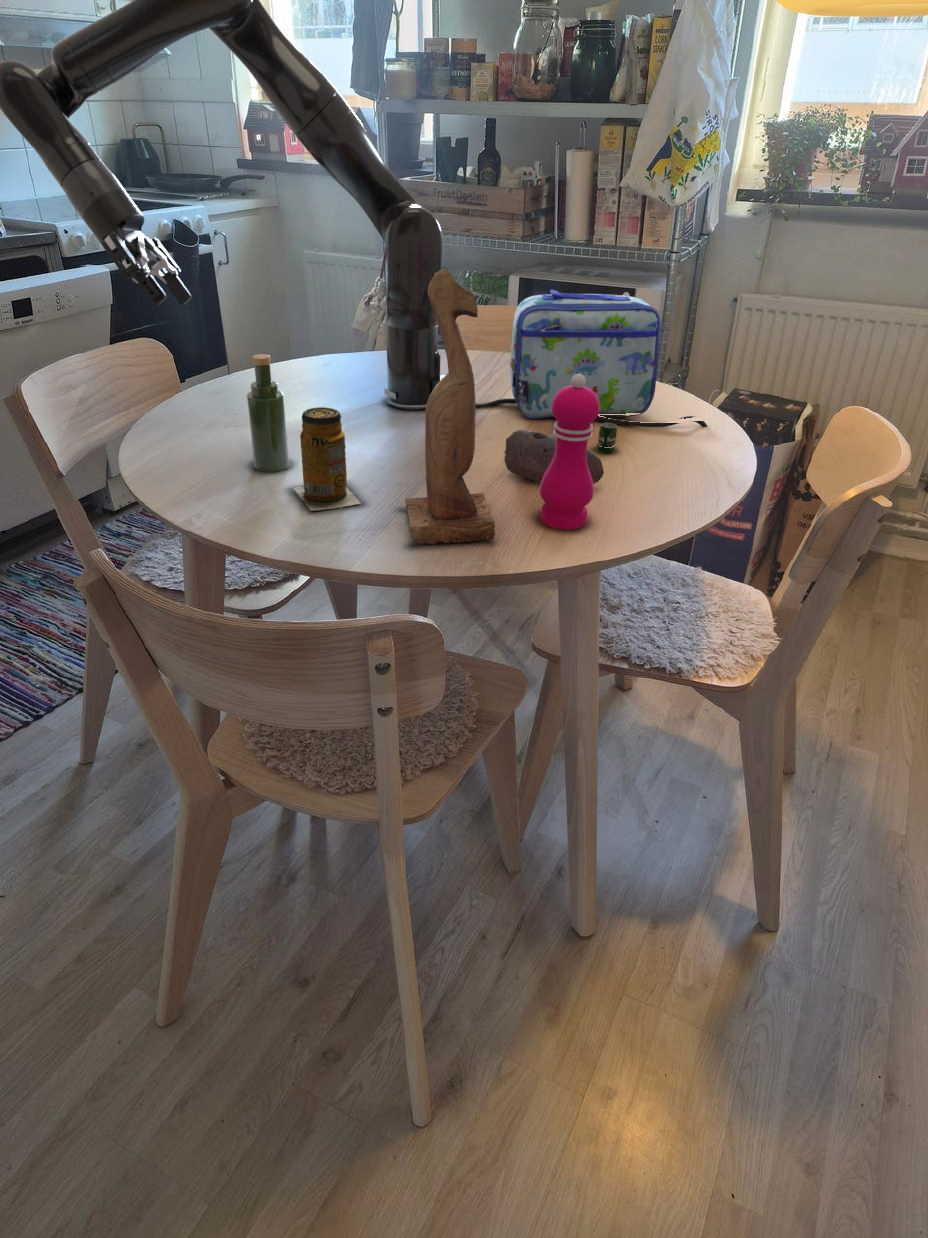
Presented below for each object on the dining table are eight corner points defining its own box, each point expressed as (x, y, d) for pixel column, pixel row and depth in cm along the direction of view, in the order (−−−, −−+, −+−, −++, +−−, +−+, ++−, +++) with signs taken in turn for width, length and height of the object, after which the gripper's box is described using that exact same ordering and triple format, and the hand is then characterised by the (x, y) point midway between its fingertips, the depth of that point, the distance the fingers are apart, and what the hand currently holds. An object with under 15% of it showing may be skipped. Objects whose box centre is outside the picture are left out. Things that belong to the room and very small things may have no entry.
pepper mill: (533, 509, 115) (545, 365, 105) (583, 508, 116) (601, 366, 105) (541, 532, 109) (555, 382, 99) (594, 531, 110) (614, 382, 99)
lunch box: (508, 420, 147) (516, 297, 135) (504, 401, 156) (511, 284, 144) (652, 424, 148) (672, 302, 136) (640, 405, 157) (658, 289, 145)
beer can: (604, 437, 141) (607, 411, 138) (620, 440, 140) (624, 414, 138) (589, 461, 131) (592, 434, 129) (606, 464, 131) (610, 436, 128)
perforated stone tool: (605, 484, 124) (611, 440, 120) (596, 497, 119) (602, 452, 116) (512, 466, 128) (515, 423, 125) (500, 478, 124) (503, 434, 121)
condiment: (341, 482, 121) (337, 402, 115) (361, 504, 115) (358, 421, 108) (293, 489, 118) (286, 407, 112) (310, 512, 112) (304, 427, 105)
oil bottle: (288, 458, 128) (278, 350, 119) (290, 470, 124) (281, 360, 115) (254, 460, 127) (242, 351, 118) (255, 472, 123) (242, 361, 114)
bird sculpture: (500, 541, 107) (517, 279, 89) (411, 547, 104) (411, 279, 87) (481, 505, 116) (493, 261, 99) (399, 510, 113) (396, 261, 96)
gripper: (94, 180, 112) (171, 285, 116) (144, 192, 126) (211, 286, 129) (58, 215, 115) (134, 317, 119) (110, 223, 128) (177, 315, 132)
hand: (174, 301), depth 124 cm, fingers open, 8 cm apart
